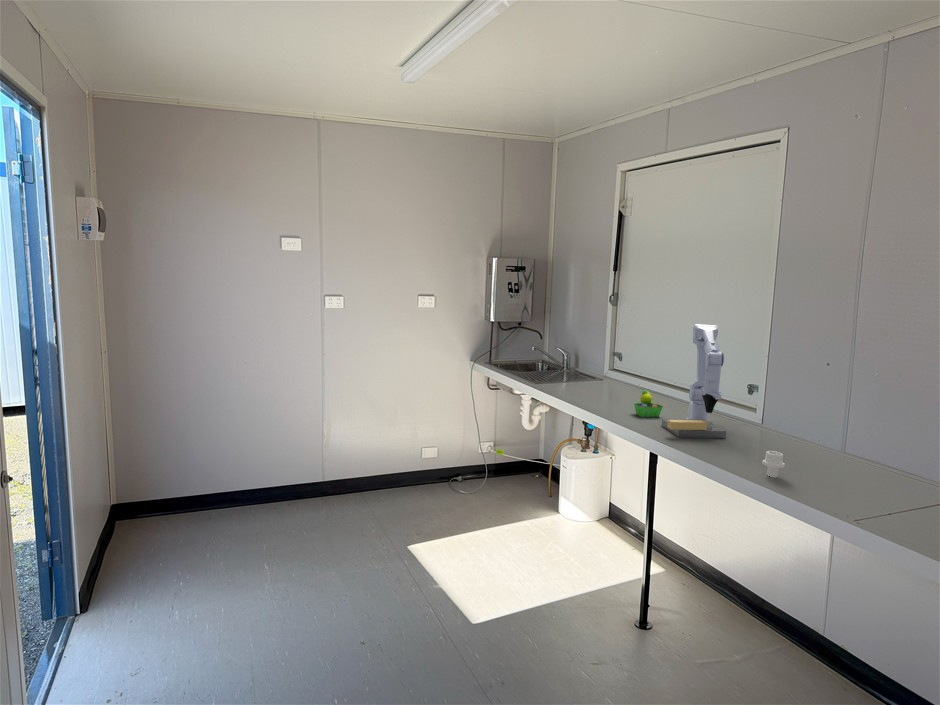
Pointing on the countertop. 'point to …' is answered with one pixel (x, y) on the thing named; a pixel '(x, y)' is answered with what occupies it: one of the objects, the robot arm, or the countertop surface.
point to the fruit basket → (647, 406)
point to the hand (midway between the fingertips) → (708, 412)
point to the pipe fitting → (773, 462)
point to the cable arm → (690, 424)
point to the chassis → (696, 431)
